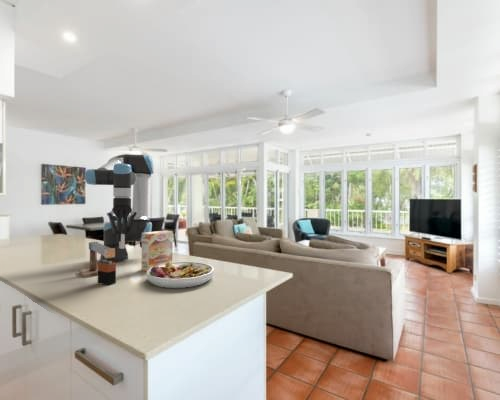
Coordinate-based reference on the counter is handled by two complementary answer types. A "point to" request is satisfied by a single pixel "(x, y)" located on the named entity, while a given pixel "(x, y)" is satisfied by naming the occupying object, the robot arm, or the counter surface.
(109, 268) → the battery
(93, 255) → the arm post
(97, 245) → the swing arm
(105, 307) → the counter surface
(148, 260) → the coffeecake box
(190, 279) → the bowl
